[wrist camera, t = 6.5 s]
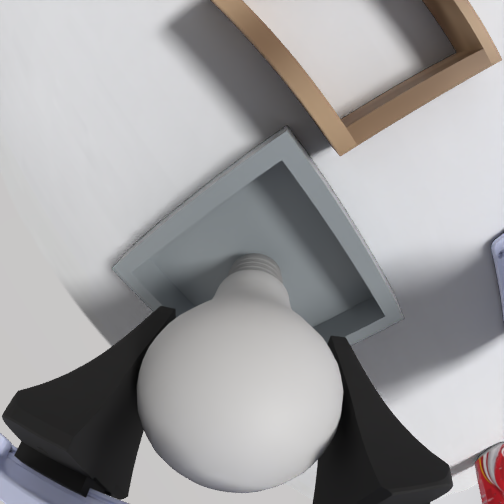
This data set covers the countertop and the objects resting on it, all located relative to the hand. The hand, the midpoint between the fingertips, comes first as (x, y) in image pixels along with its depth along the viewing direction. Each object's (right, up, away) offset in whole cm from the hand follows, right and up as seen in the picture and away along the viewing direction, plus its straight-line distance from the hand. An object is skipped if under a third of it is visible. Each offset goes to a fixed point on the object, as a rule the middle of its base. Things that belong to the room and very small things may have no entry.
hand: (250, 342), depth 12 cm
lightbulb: (0, +3, +4) cm, 5 cm away
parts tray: (+1, +3, +5) cm, 5 cm away
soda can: (+38, -27, +16) cm, 49 cm away
